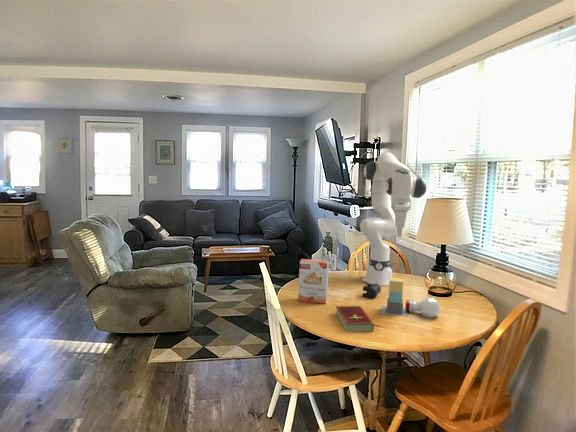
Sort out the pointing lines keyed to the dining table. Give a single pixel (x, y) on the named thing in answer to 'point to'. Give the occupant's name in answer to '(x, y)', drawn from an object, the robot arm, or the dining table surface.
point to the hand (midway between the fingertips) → (399, 235)
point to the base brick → (394, 307)
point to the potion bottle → (424, 307)
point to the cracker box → (313, 281)
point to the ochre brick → (396, 285)
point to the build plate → (404, 313)
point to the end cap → (371, 290)
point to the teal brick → (395, 297)
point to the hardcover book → (354, 318)
